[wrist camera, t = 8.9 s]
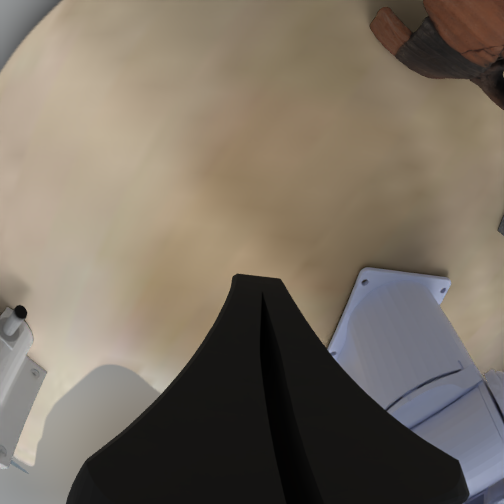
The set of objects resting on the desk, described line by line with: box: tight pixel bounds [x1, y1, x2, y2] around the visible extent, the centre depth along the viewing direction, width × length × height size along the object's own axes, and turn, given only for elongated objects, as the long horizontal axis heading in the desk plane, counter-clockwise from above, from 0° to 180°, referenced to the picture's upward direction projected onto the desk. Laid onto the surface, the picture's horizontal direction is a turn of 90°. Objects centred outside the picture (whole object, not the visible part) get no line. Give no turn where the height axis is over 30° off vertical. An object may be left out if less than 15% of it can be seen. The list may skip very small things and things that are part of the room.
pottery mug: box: [370, 0, 504, 110], centre depth 10 cm, size 12×10×8 cm
